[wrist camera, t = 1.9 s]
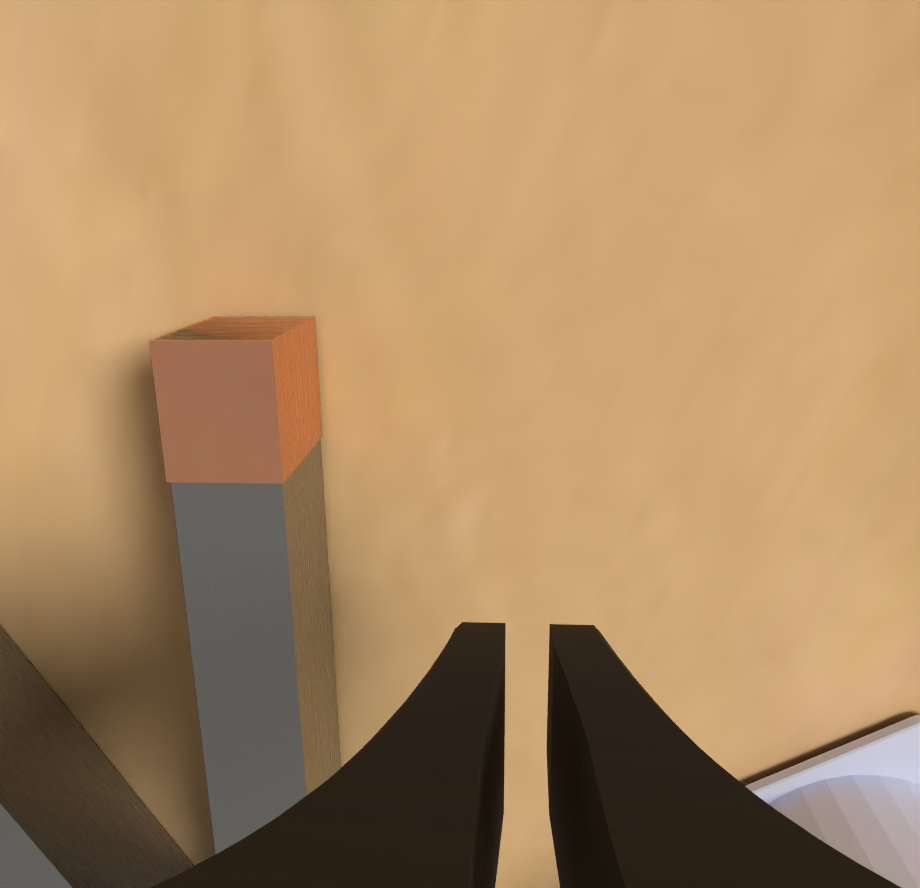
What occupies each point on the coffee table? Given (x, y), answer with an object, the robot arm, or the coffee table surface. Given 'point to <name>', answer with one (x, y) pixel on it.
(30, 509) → the coffee table surface
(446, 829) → the robot arm
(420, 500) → the coffee table surface
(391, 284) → the coffee table surface
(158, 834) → the tongs fixed arm
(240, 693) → the bar
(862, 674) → the coffee table surface
